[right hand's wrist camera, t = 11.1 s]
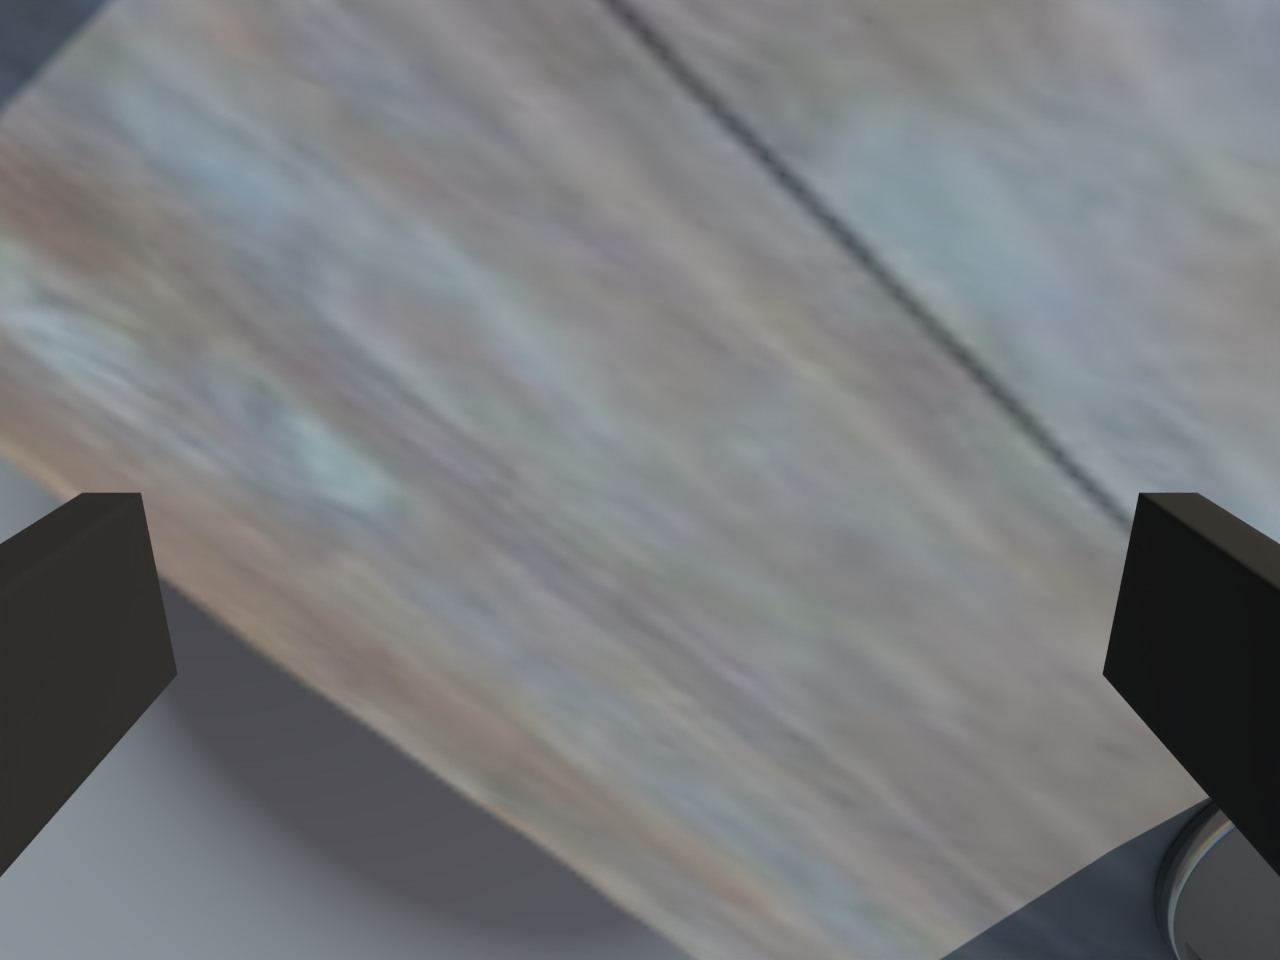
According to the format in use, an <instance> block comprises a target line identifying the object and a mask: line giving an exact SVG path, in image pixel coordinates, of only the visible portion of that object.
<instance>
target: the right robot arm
mask: <svg viewBox="0 0 1280 960" xmlns="http://www.w3.org/2000/svg"><path fill="white" fill-rule="evenodd" d="M176 675H177V670H176V665H175V660H174V655H173V650H172V645H171V640H170V635H169V630H168V626H167V620H166V616H165V611H164V606H163V601H162V596H161V591H160V586H159V581H158V576H157V571H156V566H155V561H154V556H153V551H152V546H151V541H150V536H149V531H148V526H147V521H146V516H145V511H144V506H143V501H142V496H141V493H81V494H80V495H78V496H77V497H75V498H73V499H72V500H70V501H69V502H67V503H65V504H64V505H62V506H61V507H59V508H57V509H56V510H54V511H53V512H51V513H49V514H48V515H46V516H45V517H43V518H41V519H40V520H38V521H37V522H35V523H33V524H32V525H30V526H29V527H27V528H25V529H24V530H22V531H21V532H19V533H17V534H16V535H14V536H13V537H11V538H9V539H8V540H6V541H5V542H3V543H1V544H0V877H1V876H2V875H3V873H4V872H5V871H6V870H7V869H8V868H9V867H10V865H11V864H12V863H13V862H14V861H15V860H16V859H17V857H18V856H19V855H20V854H21V853H22V852H23V851H24V849H25V848H26V847H27V846H28V845H29V844H30V843H31V841H32V840H33V839H34V838H35V837H36V836H37V834H38V833H39V832H40V831H41V830H42V829H43V828H44V826H45V825H46V824H47V823H48V822H49V821H50V820H51V818H52V817H53V816H54V815H55V814H56V813H57V812H58V810H59V809H60V808H61V807H62V806H63V805H64V804H65V802H66V801H67V800H68V799H69V798H70V797H71V795H72V794H73V793H74V792H75V791H76V790H77V789H78V788H79V786H80V785H81V784H82V783H83V782H84V781H85V780H86V778H87V777H88V776H89V775H90V774H91V773H92V772H93V770H94V769H95V768H96V767H97V766H98V765H99V763H100V762H101V761H102V760H103V759H104V758H105V757H106V755H107V754H108V753H109V752H110V751H111V750H112V749H113V747H114V746H115V745H116V744H117V743H118V742H119V741H120V739H121V738H122V737H123V736H124V735H125V734H126V733H127V731H128V730H129V729H130V728H131V727H132V726H133V725H134V723H135V722H136V721H137V720H138V719H139V718H140V717H141V715H142V714H143V713H144V712H145V711H146V710H147V709H148V707H149V706H150V705H151V704H152V703H153V702H154V700H155V699H156V698H157V697H158V696H159V695H160V694H161V692H162V691H163V690H164V689H165V688H166V687H167V686H168V684H169V683H170V682H171V681H172V680H173V679H174V678H175V676H176ZM1103 675H1104V676H1105V678H1106V679H1107V680H1108V681H1109V682H1110V683H1111V684H1112V686H1113V687H1114V688H1115V689H1116V690H1117V691H1118V692H1119V694H1120V695H1121V696H1122V697H1123V698H1124V699H1125V700H1126V702H1127V703H1128V704H1129V705H1130V706H1131V707H1132V709H1133V710H1134V711H1135V712H1136V713H1137V714H1138V715H1139V717H1140V718H1141V719H1142V720H1143V721H1144V722H1145V723H1146V725H1147V726H1148V727H1149V728H1150V729H1151V730H1152V731H1153V733H1154V734H1155V735H1156V736H1157V737H1158V738H1159V739H1160V741H1161V742H1162V743H1163V744H1164V745H1165V746H1166V747H1167V749H1168V750H1169V751H1170V752H1171V753H1172V754H1173V755H1174V757H1175V758H1176V759H1177V760H1178V761H1179V762H1180V763H1181V765H1182V766H1183V767H1184V768H1185V769H1186V770H1187V772H1188V773H1189V774H1190V775H1191V776H1192V777H1193V778H1194V780H1195V781H1196V782H1197V783H1198V784H1199V785H1200V786H1201V788H1202V789H1203V790H1204V791H1205V792H1206V793H1207V794H1208V796H1209V797H1210V798H1211V799H1212V800H1213V801H1214V803H1213V804H1212V805H1210V806H1209V807H1208V808H1206V809H1205V810H1204V811H1203V812H1202V813H1201V814H1200V815H1199V816H1197V817H1196V818H1195V819H1194V820H1193V821H1192V822H1191V823H1190V824H1189V825H1188V827H1187V828H1186V829H1185V830H1184V831H1183V832H1182V834H1181V835H1180V836H1179V837H1178V839H1177V840H1176V841H1175V843H1174V845H1173V846H1172V848H1171V849H1170V851H1169V853H1168V855H1167V856H1166V858H1165V860H1164V862H1163V865H1162V867H1161V870H1160V873H1159V876H1158V880H1157V884H1156V890H1155V913H1156V918H1157V922H1158V926H1159V928H1160V931H1161V933H1162V935H1163V937H1164V939H1165V941H1166V942H1167V944H1168V945H1169V947H1170V949H1171V950H1172V952H1173V953H1174V955H1175V956H1176V958H1177V959H1178V960H1280V544H1279V543H1277V542H1275V541H1274V540H1272V539H1271V538H1269V537H1267V536H1266V535H1264V534H1263V533H1261V532H1259V531H1258V530H1256V529H1255V528H1253V527H1251V526H1250V525H1248V524H1247V523H1245V522H1243V521H1242V520H1240V519H1239V518H1237V517H1235V516H1234V515H1232V514H1231V513H1229V512H1227V511H1226V510H1224V509H1223V508H1221V507H1219V506H1218V505H1216V504H1215V503H1213V502H1211V501H1210V500H1208V499H1207V498H1205V497H1203V496H1202V495H1200V494H1199V493H1139V496H1138V501H1137V506H1136V511H1135V516H1134V521H1133V526H1132V531H1131V536H1130V541H1129V546H1128V551H1127V556H1126V561H1125V566H1124V571H1123V576H1122V581H1121V586H1120V591H1119V596H1118V601H1117V606H1116V610H1115V615H1114V620H1113V625H1112V630H1111V635H1110V640H1109V645H1108V650H1107V655H1106V660H1105V665H1104V670H1103Z"/></svg>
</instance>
